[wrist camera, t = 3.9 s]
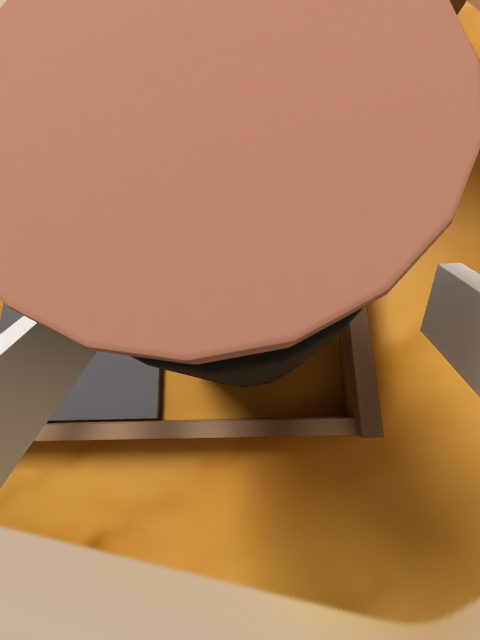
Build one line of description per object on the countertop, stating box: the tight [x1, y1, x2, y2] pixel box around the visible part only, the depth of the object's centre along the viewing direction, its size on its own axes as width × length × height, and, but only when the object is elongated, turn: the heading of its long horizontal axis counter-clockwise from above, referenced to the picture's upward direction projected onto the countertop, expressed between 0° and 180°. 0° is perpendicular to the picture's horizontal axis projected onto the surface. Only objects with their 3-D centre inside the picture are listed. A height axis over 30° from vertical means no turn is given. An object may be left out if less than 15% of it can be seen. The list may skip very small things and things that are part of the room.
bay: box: [34, 306, 384, 441], centre depth 22 cm, size 28×17×3 cm, turn 91°
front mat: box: [0, 303, 161, 421], centre depth 24 cm, size 13×15×1 cm
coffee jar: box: [0, 0, 480, 387], centre depth 15 cm, size 11×11×18 cm
